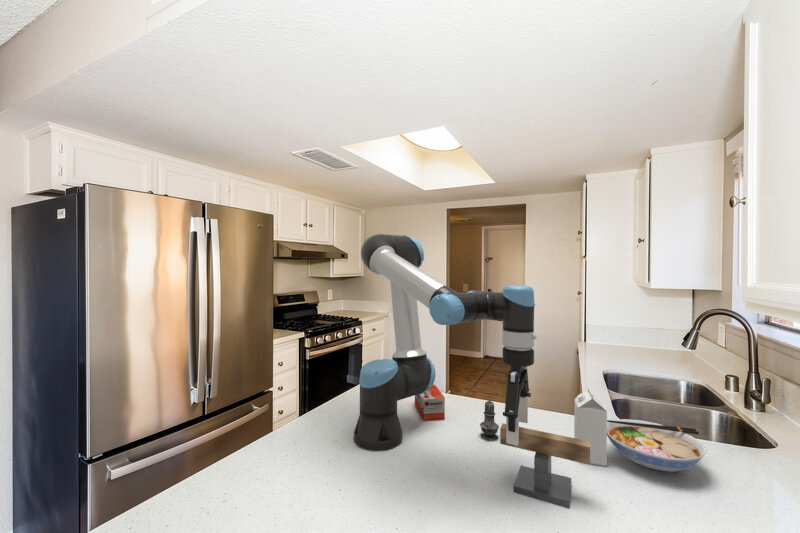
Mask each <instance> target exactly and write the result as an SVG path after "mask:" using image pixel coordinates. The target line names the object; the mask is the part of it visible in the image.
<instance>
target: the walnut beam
mask: <svg viewBox="0 0 800 533" xmlns="http://www.w3.org/2000/svg"><path fill="white" fill-rule="evenodd" d="M499 428H500V430H499V431H500V432H499V433H500V434H499V439H500V440H499V443H500V445H503V446H506V447H507V446H508V447H512V448H515V449H521V450H525V451H530V452H533V453H536V452H537V453H541V454H546V455H550V456H551V457H555V458H559V459H564V460H568V461H572V462H576V463H581V464H585V465H588V466H590V465H591V464H590V441H585V440H581V439H576V438H574V437H570V436H565V435H561V434H556V433H551V432H545V431H541V430H538V429H532V428H527V427H524V426H523V427H522V426H519V445H518V446H516V445H512V444H508V443H506V423H502V424H501V426H500V427H499Z"/></svg>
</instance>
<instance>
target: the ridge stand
mask: <svg viewBox="0 0 800 533" xmlns="http://www.w3.org/2000/svg"><path fill="white" fill-rule="evenodd" d="M534 453H535V454H534V457H533V458H534V462H533V463H534V467H530V466H526V465H521V464H520V466H519V469H518V472H517V475H516V477H515V481H514V483H513V493H516V494H519V495H523V496H525V497H529V498H532V499H536V500H540V501H542V502H543V501H544V502H547V503H550V504H554V505H557V506H560V507H564V508H567V509H570V505H571V492H572V478H571V477H569V476H564V475H560V474H557V473H552V456H550V455H546V454H541V453H537V452H534Z"/></svg>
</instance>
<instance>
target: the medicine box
mask: <svg viewBox="0 0 800 533" xmlns="http://www.w3.org/2000/svg"><path fill="white" fill-rule="evenodd" d="M445 401H446V398H445V395H444V394H443V393H442V392H441V391H440V389H439V388H438V387H437V385H436V384H433V386H432V387H431V388H430V389H429V390H428V391H426V392H423V393H422V394H419V395H414V407H415V408H416V410H417V412H418V415H419V416H420V418H421V420H422V422H429V421H430V422H431V421H444V420H445V418H446V417H445V412H446V410H445V407H446V405H445V404H446V402H445Z"/></svg>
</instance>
